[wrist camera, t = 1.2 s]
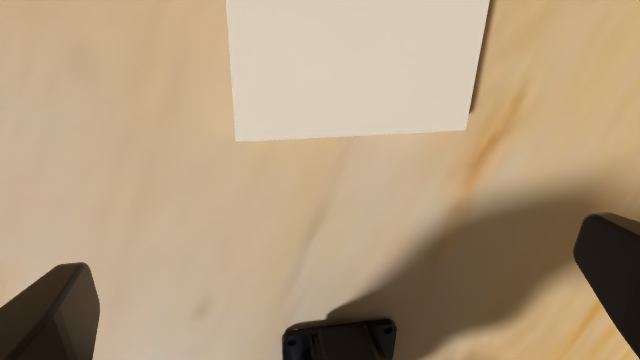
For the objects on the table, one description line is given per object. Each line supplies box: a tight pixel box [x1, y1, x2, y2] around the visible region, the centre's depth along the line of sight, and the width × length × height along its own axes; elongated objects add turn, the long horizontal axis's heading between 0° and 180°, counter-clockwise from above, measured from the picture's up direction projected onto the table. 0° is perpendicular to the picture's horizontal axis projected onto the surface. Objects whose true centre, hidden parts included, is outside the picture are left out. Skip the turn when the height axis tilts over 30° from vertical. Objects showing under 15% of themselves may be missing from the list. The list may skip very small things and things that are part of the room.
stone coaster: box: [226, 0, 490, 142], centre depth 17 cm, size 10×10×1 cm
